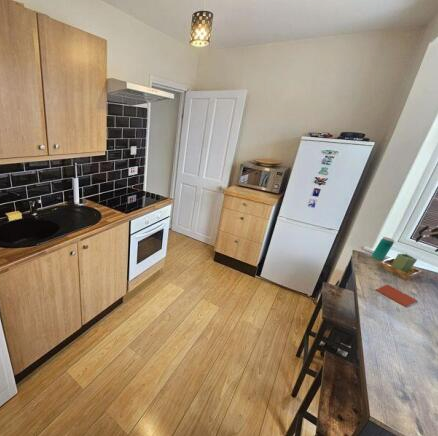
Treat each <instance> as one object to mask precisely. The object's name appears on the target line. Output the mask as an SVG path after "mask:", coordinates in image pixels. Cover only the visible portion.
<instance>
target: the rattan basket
mask: <svg viewBox="0 0 438 436" xmlns="http://www.w3.org/2000/svg"><path fill="white" fill-rule="evenodd" d="M394 260H395V257H390V258H387V259H383V260H381V261H380V262H379V264H378V267H380V268H382V269H384V270H386V271H388V272H391V273H392V274H395V275H396V276H399V277H401V278H403V279H405V280H407V281H409V280H412V279H414V278H417V277H419V276H420V275H421V274H422V273H423V270H421V269H419V268H416V267H414V266H412V268H411V269H410V271H409V272H408V273H405V272H403V271H401V270H399V269H397V268H394V267H392V266H391V264H392V263H393V261H394Z"/></svg>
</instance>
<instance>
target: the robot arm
mask: <svg viewBox="0 0 438 436" xmlns="http://www.w3.org/2000/svg"><path fill="white" fill-rule="evenodd" d="M428 231H430V232H428ZM425 232H426V233H425ZM417 235H418V237H416V238H415V242H416V243H419V242H420V241H421V240H422V239H423V238H431V239H434V240H436V241H437V242H438V225H436V227H434V228H431V227H430V226H429V225H426V226H424V227H423V228H421V229H419V231H418V232H417ZM434 252H435V253H437V252H438V248H436V249H435V250H434Z"/></svg>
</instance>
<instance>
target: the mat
mask: <svg viewBox="0 0 438 436" xmlns="http://www.w3.org/2000/svg"><path fill="white" fill-rule="evenodd" d="M375 291H376V292H378V293H379V294H382V295H383V296H384V297H387V298H389V299H390V300H392V301H394V302H396V303H398V304H399V305H401V306H403V307H404V308H406V307H408V306H410V305H412V304H414V303H416V302H417V301H418V299H417V298H414V297H412V296H411V295H409V294H407V293H404V292H402V291H400V290H399V289H397V288H395V287H393V286H391V285H389V284H385V285H383V286H381V287H379V288H375Z"/></svg>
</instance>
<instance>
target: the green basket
mask: <svg viewBox="0 0 438 436" xmlns="http://www.w3.org/2000/svg"><path fill="white" fill-rule="evenodd" d="M394 259H395V260H394V261H393V263H392V264H391V266H392V267H394V268H397V269H399V270H401V271H403V272H405V273H408V272H409V271H410V269H411V268H412V267H414V265H415V264H416V262H417V261H418V258H415V257H413V256H412V255H410V254H408V253H397V255H396V257H394Z"/></svg>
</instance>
